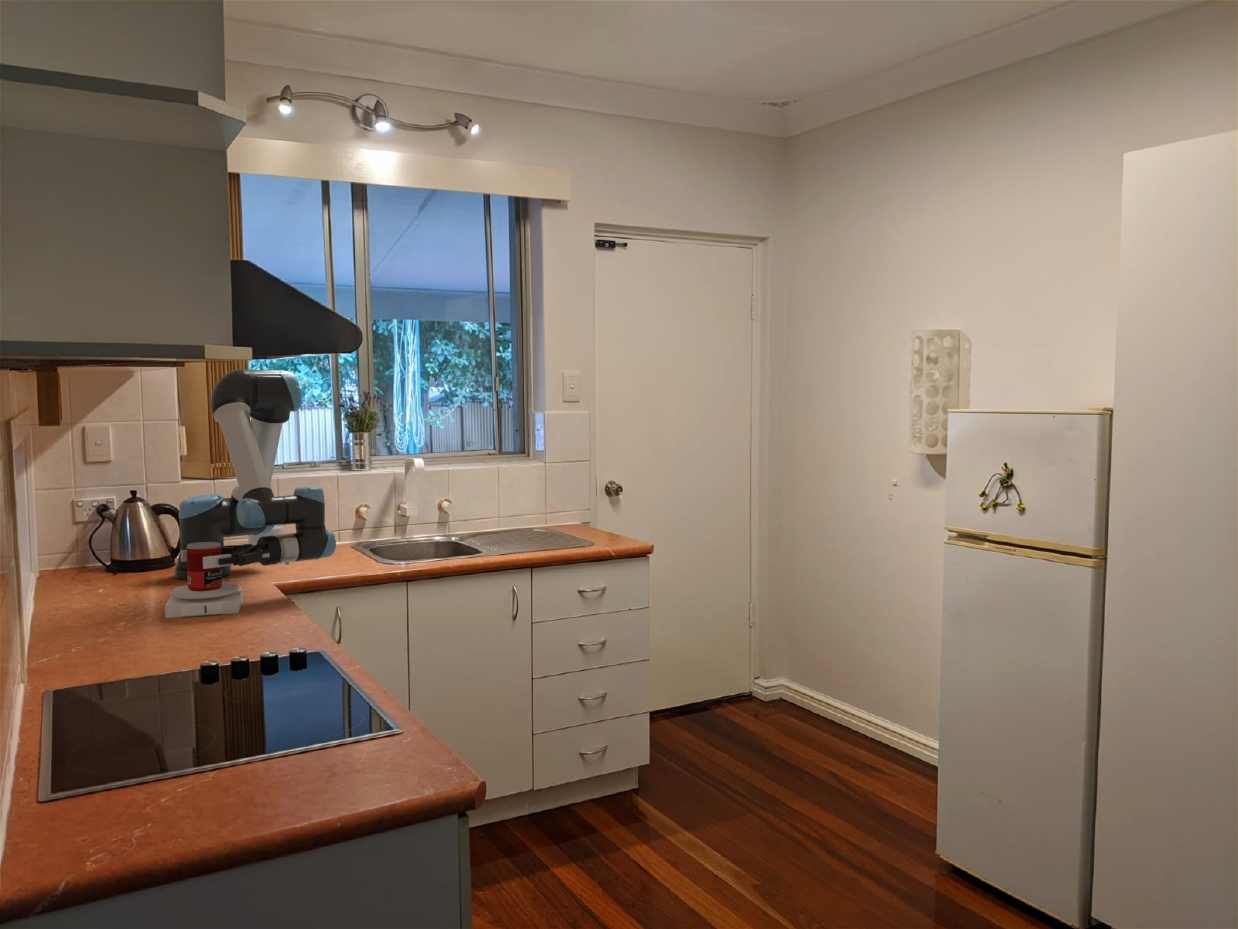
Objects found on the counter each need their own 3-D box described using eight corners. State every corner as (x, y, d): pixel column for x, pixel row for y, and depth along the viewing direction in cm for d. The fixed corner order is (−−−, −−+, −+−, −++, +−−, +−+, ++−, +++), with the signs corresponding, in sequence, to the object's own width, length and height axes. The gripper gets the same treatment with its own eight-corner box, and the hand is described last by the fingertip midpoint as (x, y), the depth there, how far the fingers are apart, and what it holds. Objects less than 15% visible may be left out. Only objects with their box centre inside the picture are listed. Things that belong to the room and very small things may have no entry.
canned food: (209, 592, 224) (208, 547, 223) (180, 590, 225) (178, 546, 224) (229, 586, 231) (227, 542, 230) (200, 584, 233) (199, 541, 232)
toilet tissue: (280, 560, 296) (279, 529, 296) (241, 561, 295) (240, 530, 294) (287, 555, 307) (287, 525, 306) (250, 555, 305) (249, 525, 305)
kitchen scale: (174, 604, 233) (173, 584, 233) (242, 599, 238) (242, 580, 238) (164, 619, 217) (163, 598, 217) (238, 614, 222) (237, 593, 222)
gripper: (299, 570, 232) (213, 581, 217) (255, 558, 250) (173, 568, 235) (298, 540, 232) (212, 550, 217) (255, 530, 249) (172, 538, 234)
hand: (192, 559), depth 225 cm, fingers open, 13 cm apart
